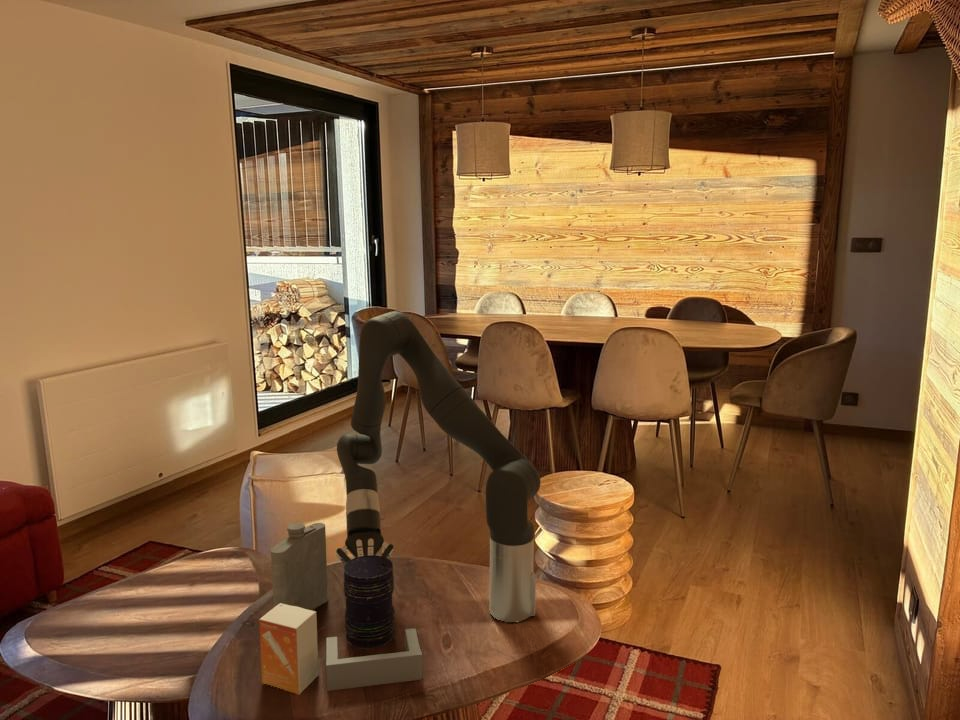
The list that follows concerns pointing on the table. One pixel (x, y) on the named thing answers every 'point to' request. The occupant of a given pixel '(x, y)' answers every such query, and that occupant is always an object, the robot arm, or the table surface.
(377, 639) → the black ribbed barrel
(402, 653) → the grey u-shaped frame
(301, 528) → the hip flask
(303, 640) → the small box
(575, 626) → the table surface
